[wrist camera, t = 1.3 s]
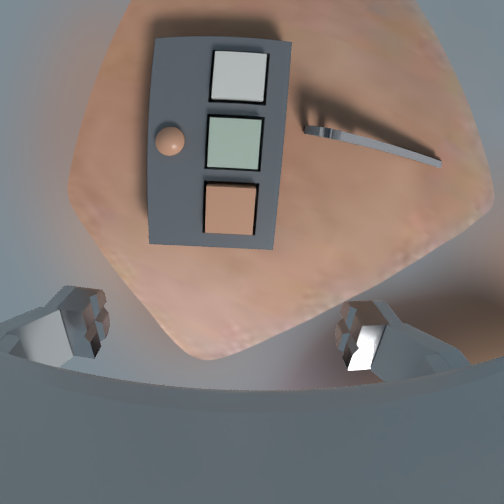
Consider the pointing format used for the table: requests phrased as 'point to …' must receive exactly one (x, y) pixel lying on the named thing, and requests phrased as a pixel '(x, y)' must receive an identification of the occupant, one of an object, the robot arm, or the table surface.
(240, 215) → the terracotta button
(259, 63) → the white button
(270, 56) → the button panel
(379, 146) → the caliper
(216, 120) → the sage button
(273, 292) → the table surface
